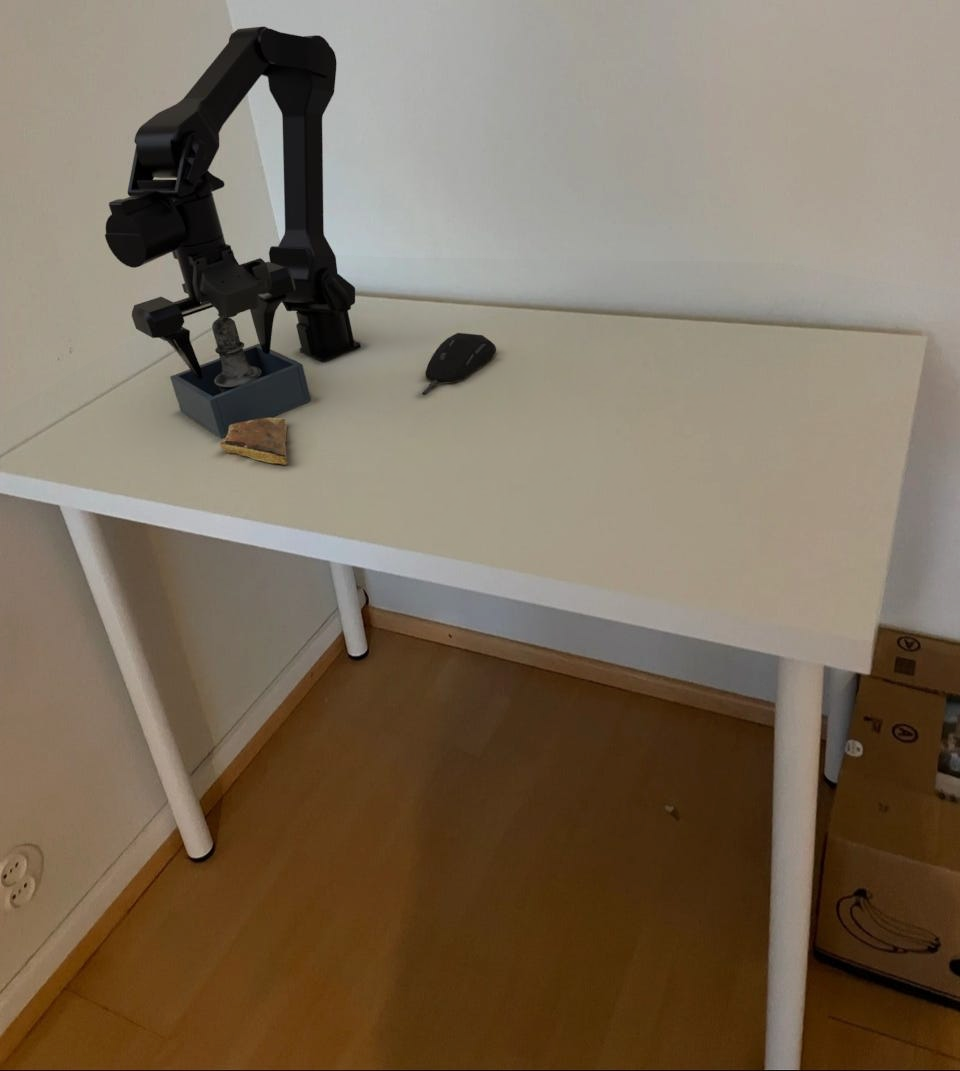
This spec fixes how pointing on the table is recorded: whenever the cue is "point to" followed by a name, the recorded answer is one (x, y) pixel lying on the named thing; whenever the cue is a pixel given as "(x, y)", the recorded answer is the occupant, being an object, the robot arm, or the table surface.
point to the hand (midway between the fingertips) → (233, 365)
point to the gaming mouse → (458, 358)
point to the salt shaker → (231, 356)
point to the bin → (242, 391)
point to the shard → (258, 439)
